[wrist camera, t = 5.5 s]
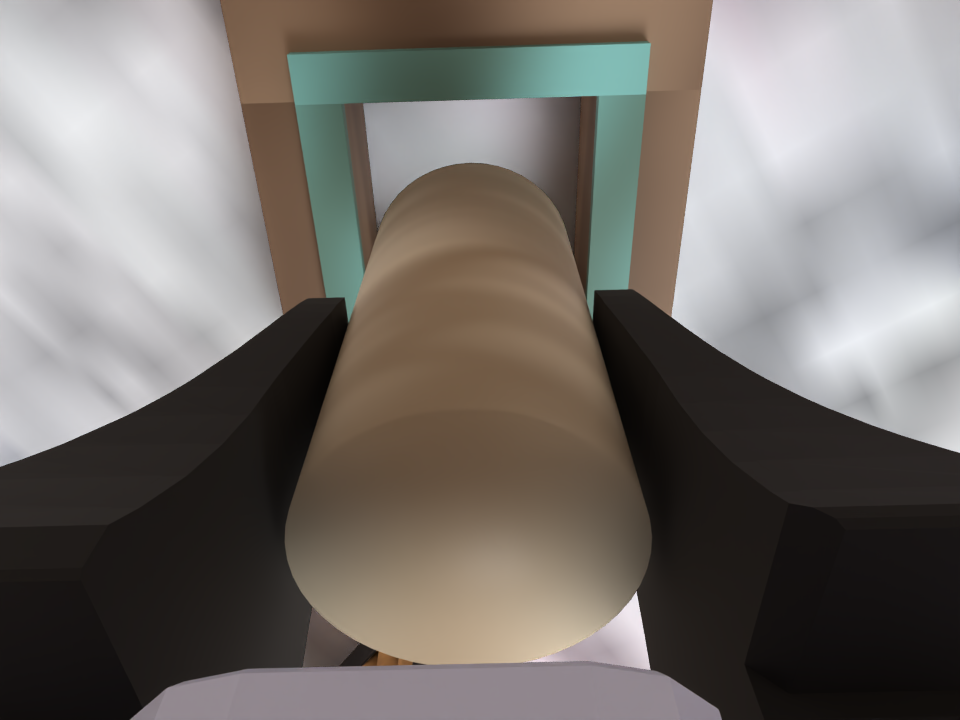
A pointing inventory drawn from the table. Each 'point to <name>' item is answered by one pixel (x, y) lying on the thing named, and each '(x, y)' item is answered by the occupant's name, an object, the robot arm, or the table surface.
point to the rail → (469, 76)
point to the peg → (469, 440)
